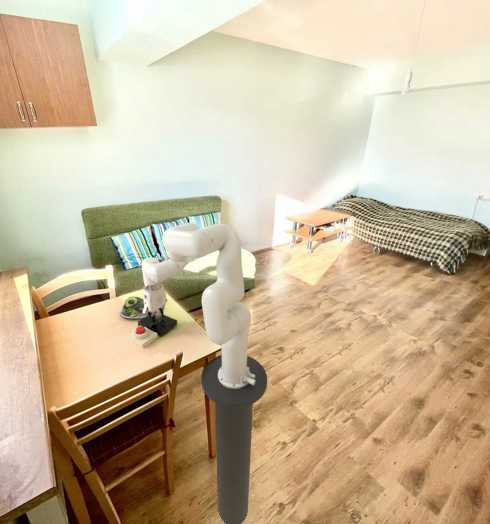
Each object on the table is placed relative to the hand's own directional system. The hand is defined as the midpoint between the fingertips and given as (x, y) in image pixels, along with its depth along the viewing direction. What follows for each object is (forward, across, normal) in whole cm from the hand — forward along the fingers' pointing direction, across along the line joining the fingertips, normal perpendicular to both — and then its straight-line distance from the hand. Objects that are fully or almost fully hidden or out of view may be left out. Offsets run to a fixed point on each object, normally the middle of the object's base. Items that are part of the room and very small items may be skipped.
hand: (157, 319), depth 131 cm
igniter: (+4, -11, -2) cm, 12 cm away
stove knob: (+1, 0, 0) cm, 1 cm away
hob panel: (+4, 0, 0) cm, 4 cm away
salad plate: (+3, +3, +18) cm, 19 cm away
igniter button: (0, -11, -2) cm, 11 cm away
